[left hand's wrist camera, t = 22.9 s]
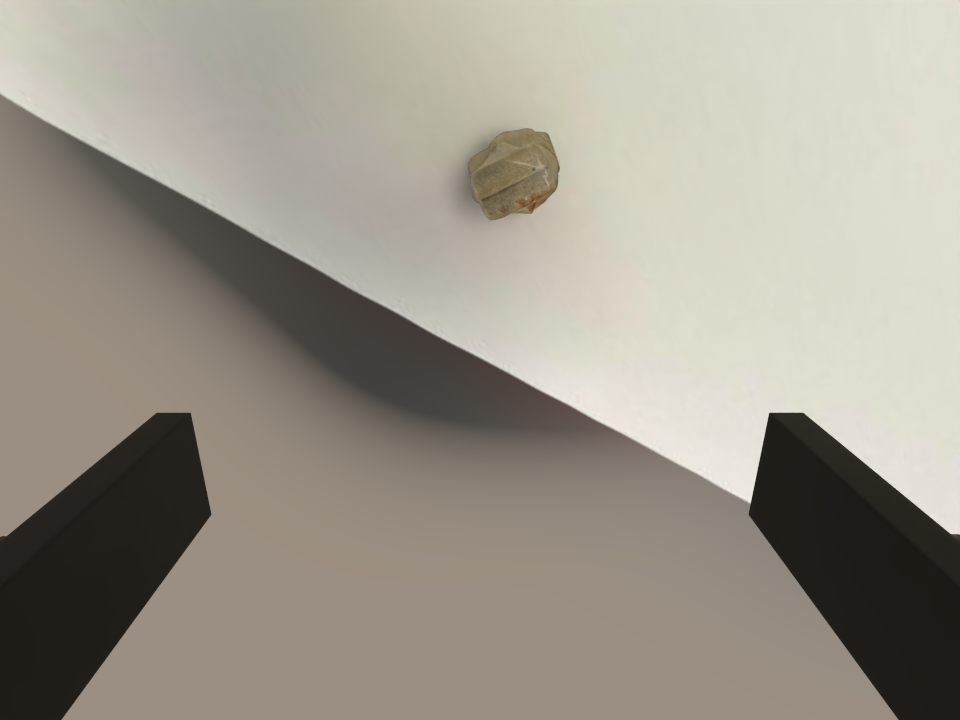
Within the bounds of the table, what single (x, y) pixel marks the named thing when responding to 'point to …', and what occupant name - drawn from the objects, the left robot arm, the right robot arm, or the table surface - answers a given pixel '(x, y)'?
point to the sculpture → (514, 173)
